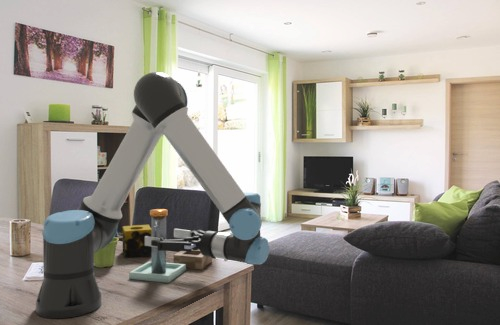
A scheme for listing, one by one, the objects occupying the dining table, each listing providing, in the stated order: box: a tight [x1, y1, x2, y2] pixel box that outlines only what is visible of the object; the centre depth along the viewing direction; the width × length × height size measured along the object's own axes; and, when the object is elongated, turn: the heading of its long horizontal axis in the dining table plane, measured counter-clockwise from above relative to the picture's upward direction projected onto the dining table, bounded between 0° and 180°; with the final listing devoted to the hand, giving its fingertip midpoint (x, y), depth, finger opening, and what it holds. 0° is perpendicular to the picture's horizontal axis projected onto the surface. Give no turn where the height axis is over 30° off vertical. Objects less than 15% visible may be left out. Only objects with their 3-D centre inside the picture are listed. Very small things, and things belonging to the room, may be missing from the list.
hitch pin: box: [149, 208, 169, 274], centre depth 135 cm, size 5×5×20 cm
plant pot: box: [94, 236, 120, 268], centre depth 145 cm, size 9×9×9 cm
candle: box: [122, 224, 152, 259], centre depth 161 cm, size 10×10×10 cm
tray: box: [128, 260, 187, 283], centre depth 136 cm, size 13×13×2 cm
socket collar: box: [173, 250, 213, 270], centre depth 148 cm, size 10×10×4 cm
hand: (160, 236), depth 135 cm, fingers open, 13 cm apart
